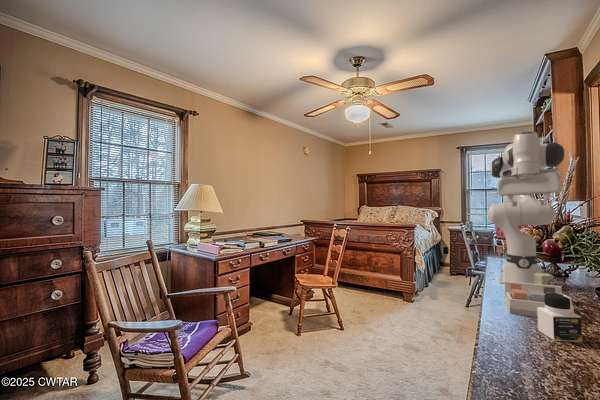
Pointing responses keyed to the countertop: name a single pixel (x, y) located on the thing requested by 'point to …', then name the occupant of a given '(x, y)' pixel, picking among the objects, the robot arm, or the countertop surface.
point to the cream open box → (523, 305)
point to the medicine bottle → (559, 319)
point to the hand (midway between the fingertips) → (528, 205)
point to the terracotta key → (519, 294)
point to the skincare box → (544, 279)
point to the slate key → (536, 296)
